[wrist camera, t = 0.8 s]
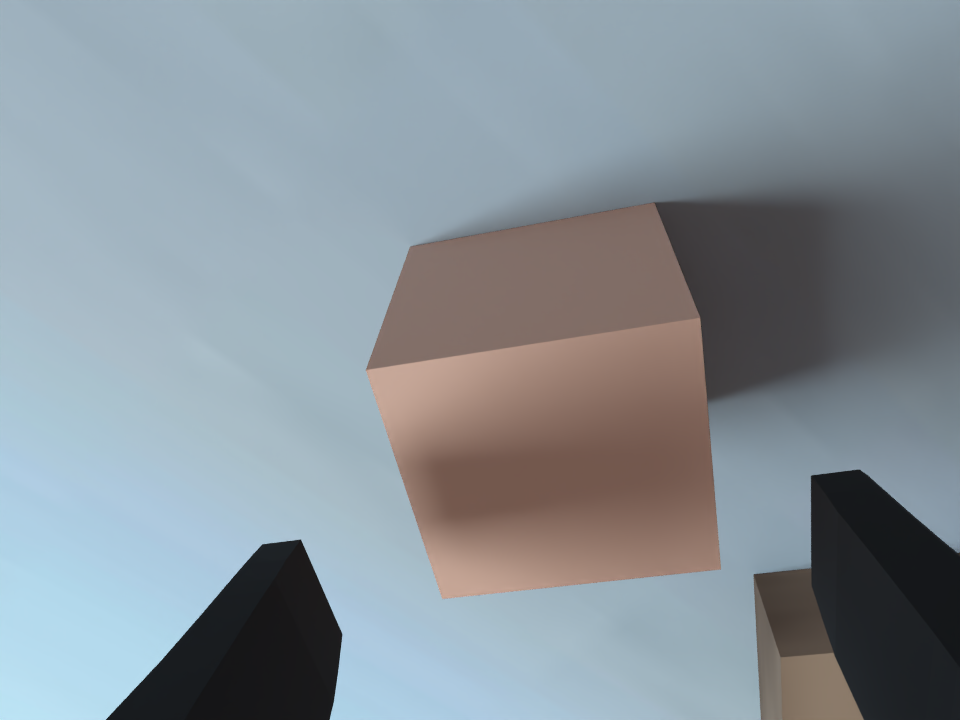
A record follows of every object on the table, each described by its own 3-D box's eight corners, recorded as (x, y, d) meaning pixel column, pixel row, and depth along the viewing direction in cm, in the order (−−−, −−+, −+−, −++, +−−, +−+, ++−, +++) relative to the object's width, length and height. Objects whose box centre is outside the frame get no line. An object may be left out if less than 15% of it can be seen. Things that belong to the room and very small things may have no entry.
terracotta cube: (653, 201, 15) (700, 317, 11) (675, 407, 18) (721, 569, 13) (410, 245, 16) (365, 369, 12) (463, 437, 19) (442, 598, 14)
